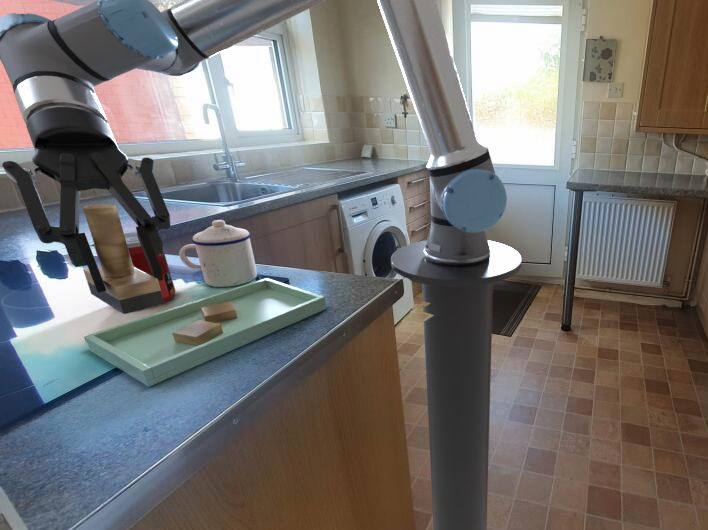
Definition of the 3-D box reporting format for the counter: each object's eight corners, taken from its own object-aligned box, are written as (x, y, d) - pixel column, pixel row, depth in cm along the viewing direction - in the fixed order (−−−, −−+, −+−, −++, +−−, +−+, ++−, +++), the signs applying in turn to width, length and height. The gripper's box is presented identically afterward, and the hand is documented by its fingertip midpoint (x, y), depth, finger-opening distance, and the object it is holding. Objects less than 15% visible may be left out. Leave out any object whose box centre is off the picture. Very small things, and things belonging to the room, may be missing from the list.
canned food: (185, 297, 72) (167, 237, 67) (127, 314, 65) (103, 248, 61) (165, 287, 75) (146, 229, 71) (108, 302, 69) (84, 239, 65)
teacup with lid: (264, 269, 85) (252, 214, 81) (252, 286, 77) (238, 226, 73) (197, 273, 82) (181, 216, 78) (177, 291, 74) (158, 228, 70)
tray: (269, 289, 77) (266, 277, 76) (326, 308, 70) (325, 296, 69) (89, 350, 56) (83, 336, 55) (148, 387, 49) (142, 371, 48)
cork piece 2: (232, 309, 67) (230, 300, 66) (237, 318, 64) (235, 309, 64) (202, 315, 64) (200, 307, 64) (206, 325, 62) (204, 316, 61)
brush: (130, 285, 56) (105, 198, 51) (164, 304, 51) (139, 210, 47) (91, 294, 52) (60, 201, 48) (123, 314, 48) (92, 214, 44)
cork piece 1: (200, 328, 61) (198, 319, 60) (223, 332, 60) (221, 323, 59) (174, 342, 57) (171, 332, 56) (198, 346, 56) (195, 337, 56)
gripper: (158, 144, 61) (216, 277, 57) (-29, 147, 49) (29, 315, 45) (155, 107, 56) (218, 251, 52) (-56, 99, 44) (7, 285, 40)
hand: (130, 280), depth 49 cm, fingers closed on brush, 5 cm apart
